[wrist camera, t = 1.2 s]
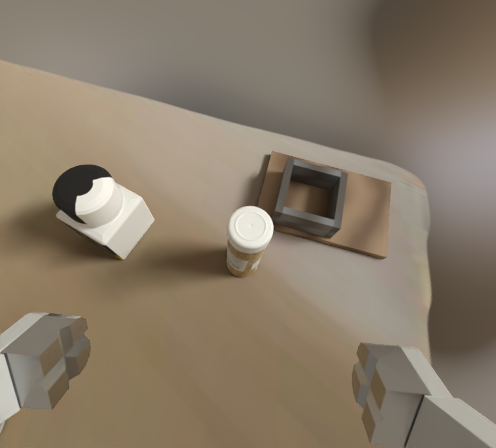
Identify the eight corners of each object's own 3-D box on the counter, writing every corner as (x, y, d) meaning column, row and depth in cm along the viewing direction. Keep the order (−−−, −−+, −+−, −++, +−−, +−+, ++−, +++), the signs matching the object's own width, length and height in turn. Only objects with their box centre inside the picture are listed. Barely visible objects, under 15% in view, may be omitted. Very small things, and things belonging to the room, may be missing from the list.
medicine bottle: (81, 236, 39) (25, 195, 28) (115, 197, 41) (77, 145, 30) (124, 261, 38) (83, 229, 27) (155, 220, 41) (131, 175, 30)
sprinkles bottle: (263, 270, 39) (281, 238, 27) (232, 282, 38) (237, 254, 26) (250, 241, 41) (263, 198, 28) (221, 252, 40) (220, 212, 27)
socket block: (252, 223, 42) (255, 209, 37) (271, 154, 47) (276, 134, 42) (383, 259, 41) (403, 249, 37) (387, 185, 46) (405, 168, 42)
